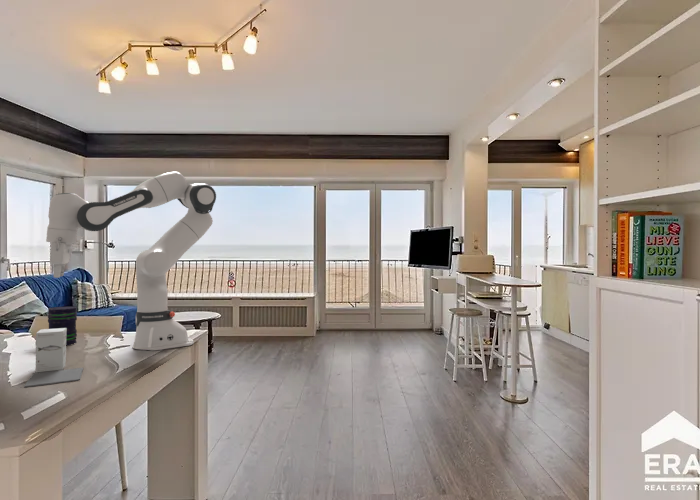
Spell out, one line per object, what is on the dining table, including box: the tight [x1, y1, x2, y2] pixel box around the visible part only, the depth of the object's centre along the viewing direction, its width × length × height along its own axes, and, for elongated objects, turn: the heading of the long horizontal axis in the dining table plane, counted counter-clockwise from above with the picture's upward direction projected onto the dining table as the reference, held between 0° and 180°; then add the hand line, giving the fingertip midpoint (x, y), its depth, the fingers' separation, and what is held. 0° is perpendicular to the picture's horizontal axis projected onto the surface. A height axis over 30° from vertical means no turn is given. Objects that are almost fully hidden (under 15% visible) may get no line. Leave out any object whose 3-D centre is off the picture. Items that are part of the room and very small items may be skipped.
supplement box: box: [34, 328, 67, 373], centre depth 133 cm, size 7×7×13 cm
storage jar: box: [47, 305, 78, 346], centre depth 169 cm, size 10×10×15 cm
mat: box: [23, 367, 84, 388], centre depth 124 cm, size 13×14×1 cm
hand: (58, 276), depth 146 cm, fingers open, 8 cm apart
